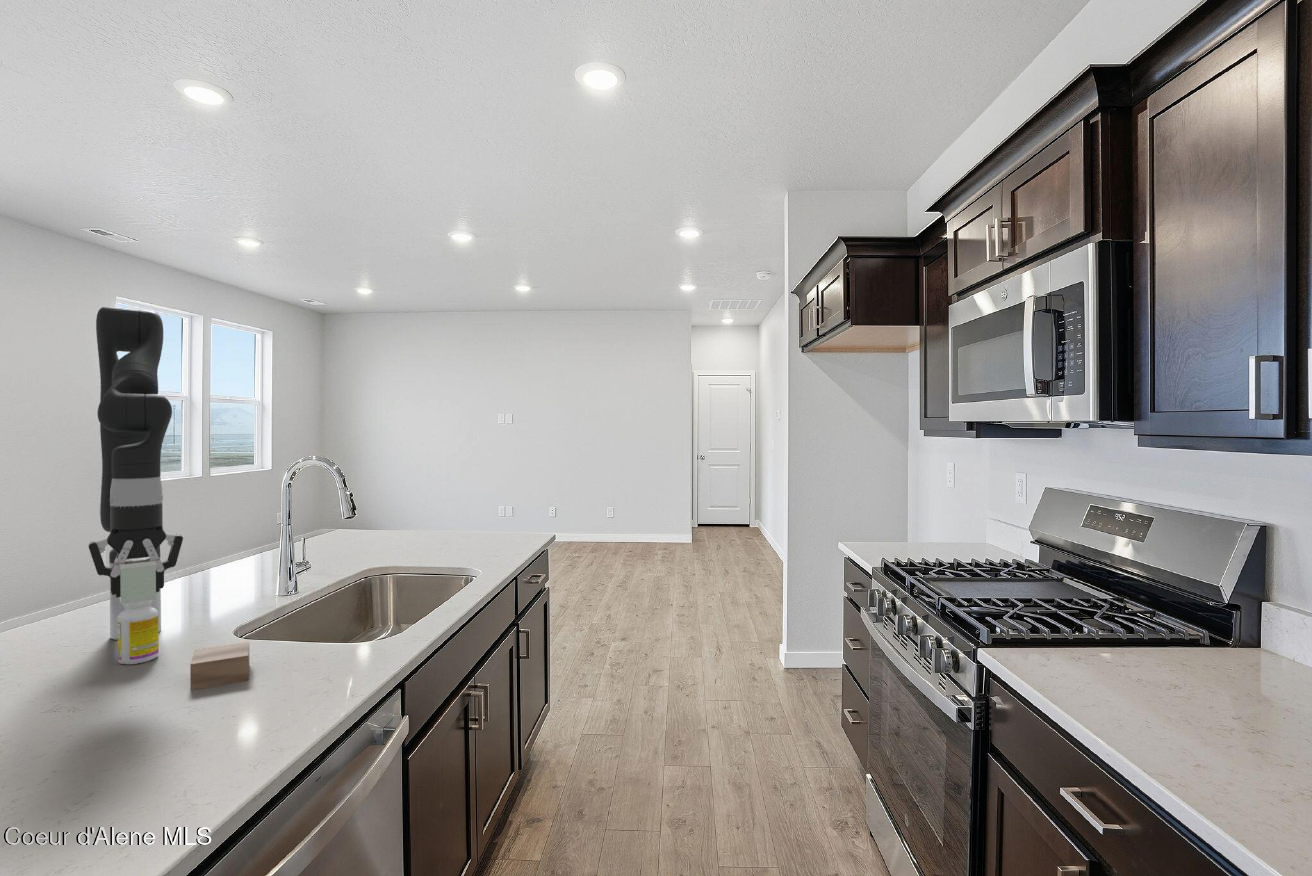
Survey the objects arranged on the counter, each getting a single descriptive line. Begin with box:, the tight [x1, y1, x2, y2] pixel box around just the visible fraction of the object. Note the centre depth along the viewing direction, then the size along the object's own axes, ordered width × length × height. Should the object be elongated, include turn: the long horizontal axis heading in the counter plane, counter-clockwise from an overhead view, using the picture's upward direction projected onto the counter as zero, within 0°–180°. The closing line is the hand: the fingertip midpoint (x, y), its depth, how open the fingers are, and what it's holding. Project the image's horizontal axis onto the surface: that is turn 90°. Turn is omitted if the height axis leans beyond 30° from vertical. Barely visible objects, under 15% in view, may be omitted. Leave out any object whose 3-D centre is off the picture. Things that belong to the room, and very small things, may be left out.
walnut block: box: [189, 641, 250, 691], centre depth 125 cm, size 9×9×5 cm
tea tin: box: [119, 557, 156, 604], centre depth 120 cm, size 5×5×7 cm
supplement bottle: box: [117, 600, 160, 665], centre depth 134 cm, size 7×7×13 cm
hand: (137, 593), depth 120 cm, fingers closed on tea tin, 5 cm apart
